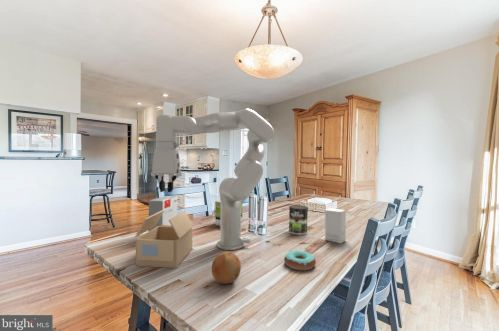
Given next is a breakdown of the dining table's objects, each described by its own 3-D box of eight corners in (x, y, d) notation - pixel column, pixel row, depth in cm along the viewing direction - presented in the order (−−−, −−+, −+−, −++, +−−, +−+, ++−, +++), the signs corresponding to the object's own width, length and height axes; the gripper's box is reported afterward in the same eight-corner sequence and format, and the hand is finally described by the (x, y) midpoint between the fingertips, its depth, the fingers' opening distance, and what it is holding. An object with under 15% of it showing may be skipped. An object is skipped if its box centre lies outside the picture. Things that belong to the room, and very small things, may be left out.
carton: (192, 248, 109) (193, 226, 109) (175, 269, 90) (175, 241, 89) (158, 247, 111) (158, 224, 110) (134, 266, 91) (134, 239, 91)
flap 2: (193, 226, 107) (184, 210, 107) (180, 238, 91) (169, 219, 91) (192, 226, 107) (183, 210, 107) (178, 238, 91) (168, 220, 91)
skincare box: (345, 240, 122) (346, 210, 122) (340, 244, 118) (341, 212, 117) (329, 236, 128) (330, 207, 128) (324, 240, 123) (324, 209, 123)
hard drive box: (162, 242, 117) (161, 201, 116) (147, 241, 118) (147, 200, 118) (177, 232, 132) (177, 196, 131) (165, 231, 134) (164, 195, 133)
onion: (222, 272, 88) (223, 244, 87) (246, 279, 83) (246, 250, 82) (204, 284, 79) (205, 254, 79) (230, 293, 74) (230, 260, 74)
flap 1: (155, 225, 109) (164, 210, 108) (136, 237, 93) (146, 219, 92) (154, 224, 109) (163, 209, 108) (135, 236, 93) (145, 218, 92)
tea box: (230, 219, 161) (230, 197, 160) (242, 222, 155) (243, 199, 154) (214, 224, 149) (214, 200, 148) (227, 227, 143) (227, 202, 142)
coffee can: (305, 235, 130) (306, 209, 129) (286, 233, 133) (287, 207, 133) (308, 230, 139) (309, 205, 139) (290, 228, 143) (291, 204, 142)
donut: (293, 256, 103) (293, 246, 103) (320, 264, 96) (321, 254, 95) (278, 265, 94) (278, 255, 94) (306, 275, 86) (307, 264, 86)
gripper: (188, 146, 102) (188, 190, 102) (151, 146, 103) (151, 189, 104) (182, 146, 94) (182, 193, 95) (142, 145, 96) (142, 192, 96)
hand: (166, 191), depth 99 cm, fingers open, 2 cm apart
